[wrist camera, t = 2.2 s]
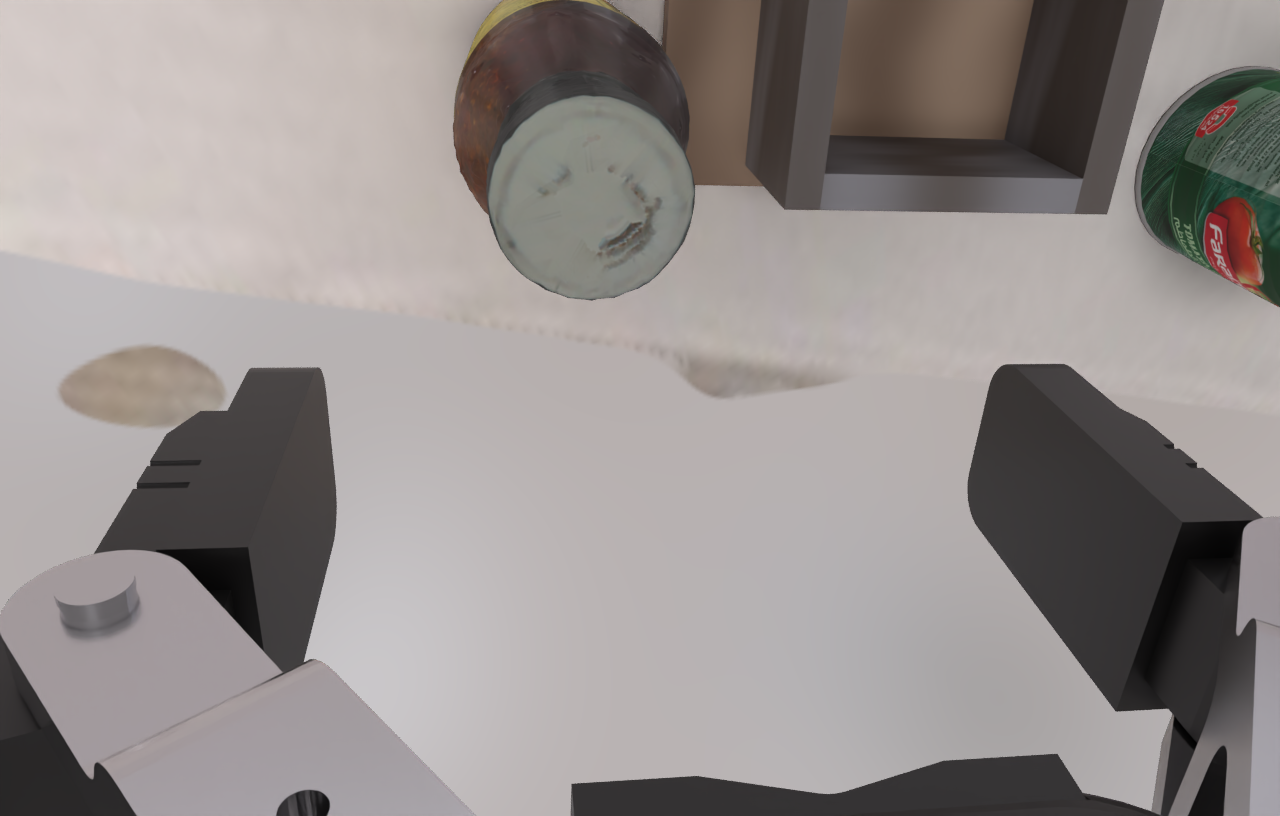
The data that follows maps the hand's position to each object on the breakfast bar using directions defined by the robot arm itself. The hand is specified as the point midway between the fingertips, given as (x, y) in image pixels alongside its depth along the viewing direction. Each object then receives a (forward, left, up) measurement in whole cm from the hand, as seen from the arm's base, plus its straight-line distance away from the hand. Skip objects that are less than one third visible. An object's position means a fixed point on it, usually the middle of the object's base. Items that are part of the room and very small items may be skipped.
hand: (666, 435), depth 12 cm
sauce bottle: (0, 0, -28) cm, 28 cm away
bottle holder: (-13, -3, -28) cm, 31 cm away
